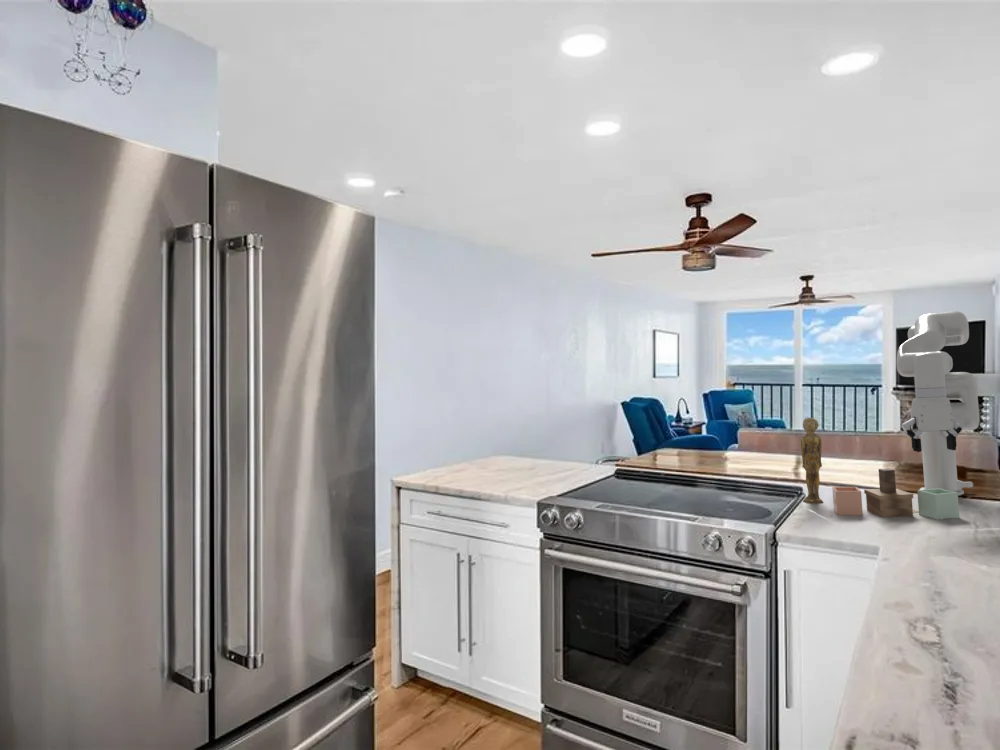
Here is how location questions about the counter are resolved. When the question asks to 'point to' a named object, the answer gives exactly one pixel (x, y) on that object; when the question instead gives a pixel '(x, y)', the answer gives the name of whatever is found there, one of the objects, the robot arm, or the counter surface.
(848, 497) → the canister terracotta
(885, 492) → the lid
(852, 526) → the counter surface
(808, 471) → the sculpture
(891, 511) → the box
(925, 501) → the box
